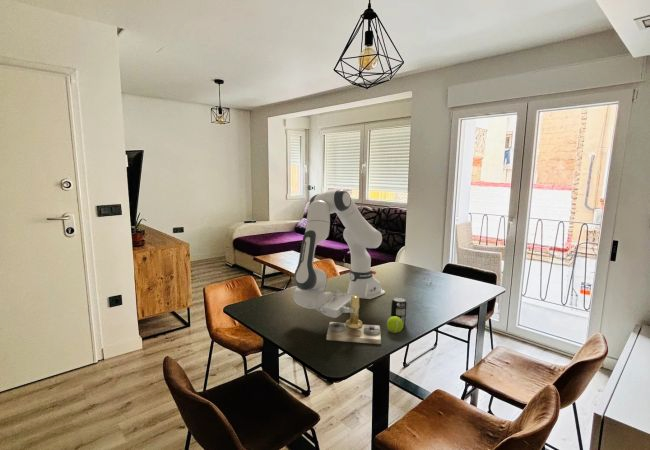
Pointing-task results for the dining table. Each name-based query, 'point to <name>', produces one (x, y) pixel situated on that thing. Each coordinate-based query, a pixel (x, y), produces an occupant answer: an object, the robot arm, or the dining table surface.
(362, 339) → the gear board
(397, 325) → the tennis ball
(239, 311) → the dining table surface
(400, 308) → the beverage can
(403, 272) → the dining table surface
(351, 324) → the gold flanged post
